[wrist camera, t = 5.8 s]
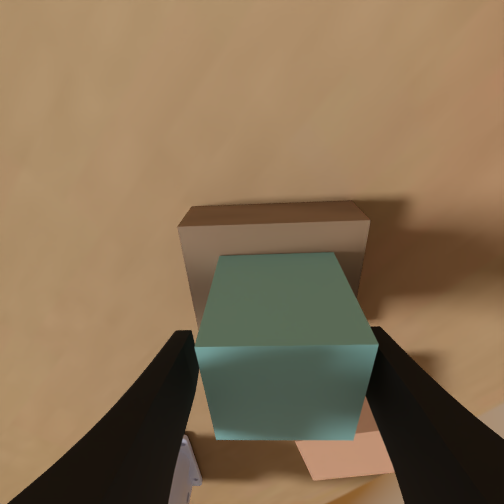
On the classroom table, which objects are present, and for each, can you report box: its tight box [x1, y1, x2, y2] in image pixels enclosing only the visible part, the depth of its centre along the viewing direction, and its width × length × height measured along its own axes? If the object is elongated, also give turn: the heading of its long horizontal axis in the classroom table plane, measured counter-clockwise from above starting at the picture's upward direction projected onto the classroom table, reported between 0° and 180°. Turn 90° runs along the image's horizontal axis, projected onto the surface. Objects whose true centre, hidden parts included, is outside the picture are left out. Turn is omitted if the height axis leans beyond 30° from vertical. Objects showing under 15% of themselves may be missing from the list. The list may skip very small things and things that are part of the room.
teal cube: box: [194, 252, 379, 441], centre depth 11 cm, size 5×5×5 cm
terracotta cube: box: [295, 396, 394, 481], centre depth 17 cm, size 5×5×5 cm
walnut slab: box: [177, 201, 371, 330], centre depth 14 cm, size 8×8×3 cm
